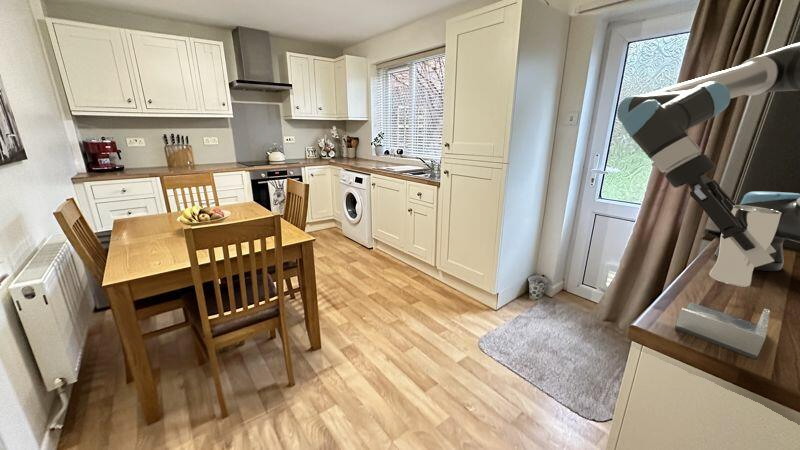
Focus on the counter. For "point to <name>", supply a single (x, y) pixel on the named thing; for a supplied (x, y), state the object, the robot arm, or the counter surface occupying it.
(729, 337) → the tray
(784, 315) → the counter surface
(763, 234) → the beer glass
